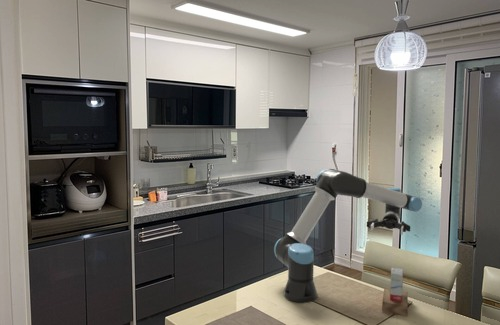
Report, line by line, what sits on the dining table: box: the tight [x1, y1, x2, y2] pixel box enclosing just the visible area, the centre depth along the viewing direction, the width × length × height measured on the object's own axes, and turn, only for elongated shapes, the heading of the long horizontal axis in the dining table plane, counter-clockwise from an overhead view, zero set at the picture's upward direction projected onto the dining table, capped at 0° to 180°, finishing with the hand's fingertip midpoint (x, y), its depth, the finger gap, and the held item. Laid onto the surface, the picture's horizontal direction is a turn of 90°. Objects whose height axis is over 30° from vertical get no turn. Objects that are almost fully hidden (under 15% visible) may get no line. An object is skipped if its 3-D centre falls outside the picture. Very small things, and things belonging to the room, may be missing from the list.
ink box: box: [389, 267, 404, 302], centre depth 168 cm, size 9×5×12 cm, turn 158°
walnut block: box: [381, 288, 409, 317], centre depth 169 cm, size 10×14×5 cm
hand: (386, 230), depth 182 cm, fingers open, 13 cm apart
